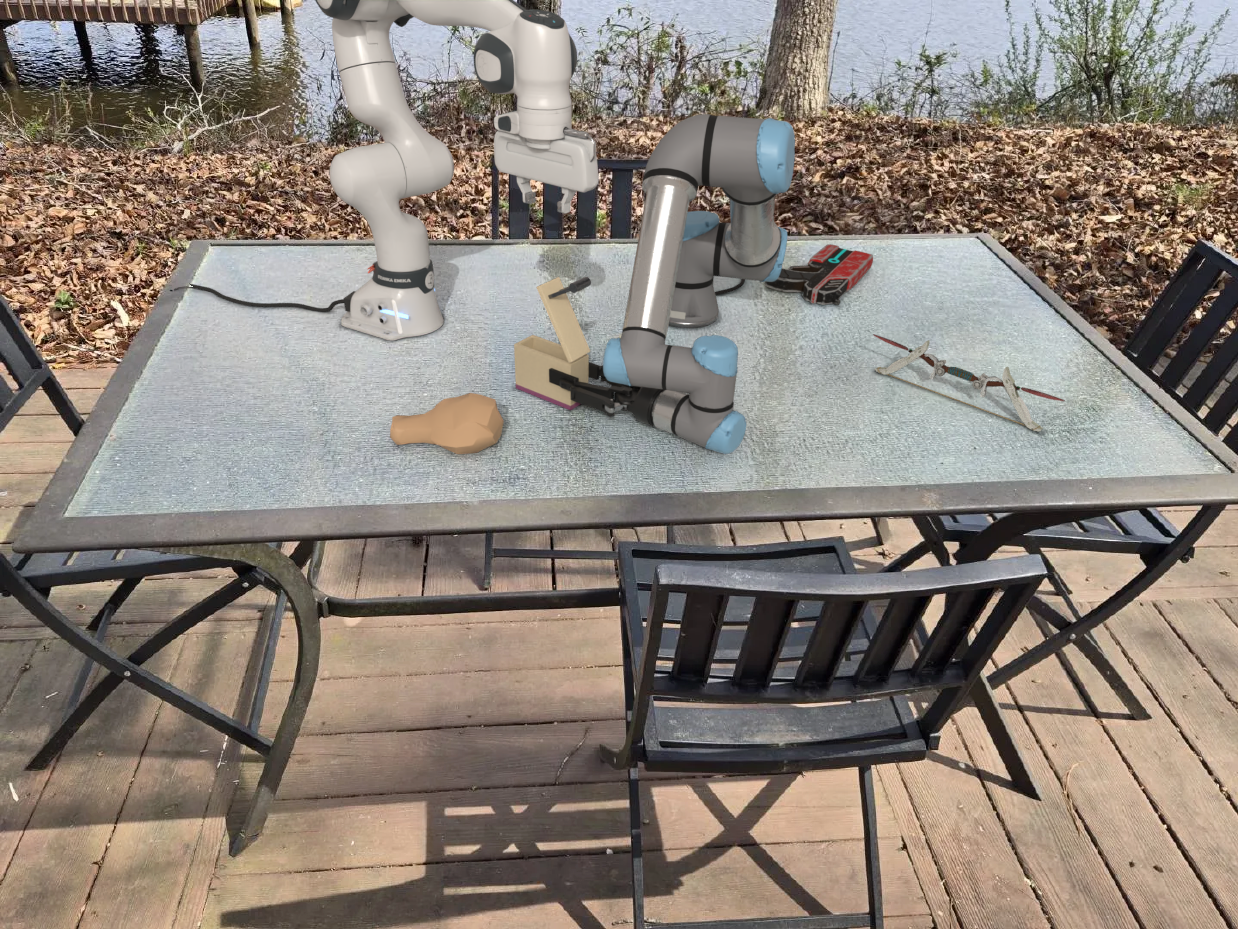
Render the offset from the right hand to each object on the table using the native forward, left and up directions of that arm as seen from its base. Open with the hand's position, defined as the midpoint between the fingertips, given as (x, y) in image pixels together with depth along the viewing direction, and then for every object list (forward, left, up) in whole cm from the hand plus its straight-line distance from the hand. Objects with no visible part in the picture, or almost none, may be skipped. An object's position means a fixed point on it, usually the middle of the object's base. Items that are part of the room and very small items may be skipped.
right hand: (561, 369), depth 166 cm
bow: (-47, +61, -6) cm, 77 cm away
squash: (+26, -5, -6) cm, 27 cm away
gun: (-88, +13, -6) cm, 89 cm away
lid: (0, 0, +10) cm, 10 cm away
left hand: (0, -3, +30) cm, 30 cm away
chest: (0, -2, -6) cm, 7 cm away
